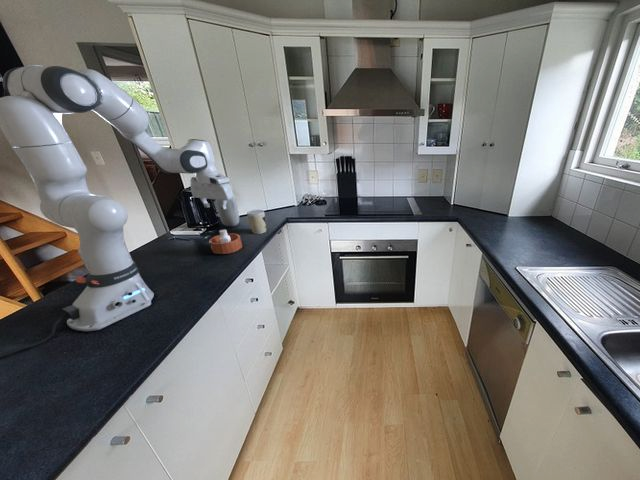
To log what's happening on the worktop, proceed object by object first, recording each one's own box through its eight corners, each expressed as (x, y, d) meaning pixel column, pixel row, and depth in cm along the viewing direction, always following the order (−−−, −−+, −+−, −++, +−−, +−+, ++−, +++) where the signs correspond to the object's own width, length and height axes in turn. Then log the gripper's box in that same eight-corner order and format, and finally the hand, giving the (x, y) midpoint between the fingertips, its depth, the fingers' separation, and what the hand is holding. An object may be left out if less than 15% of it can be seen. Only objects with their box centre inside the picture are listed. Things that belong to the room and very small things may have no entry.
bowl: (229, 256, 131) (225, 245, 128) (205, 253, 134) (202, 242, 131) (248, 245, 143) (246, 234, 140) (226, 242, 146) (224, 232, 143)
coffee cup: (269, 232, 160) (266, 212, 155) (252, 235, 155) (248, 215, 150) (265, 227, 167) (262, 208, 161) (249, 230, 162) (245, 211, 157)
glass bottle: (219, 228, 165) (206, 181, 152) (229, 223, 174) (218, 178, 161) (234, 229, 164) (222, 182, 151) (244, 223, 173) (234, 178, 160)
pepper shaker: (224, 246, 139) (219, 229, 135) (232, 246, 140) (228, 228, 136) (222, 250, 136) (217, 232, 132) (230, 249, 137) (226, 231, 133)
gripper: (183, 177, 122) (192, 207, 128) (221, 180, 118) (228, 211, 123) (195, 175, 128) (203, 204, 134) (231, 178, 123) (238, 208, 129)
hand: (215, 208), depth 129 cm, fingers open, 8 cm apart
